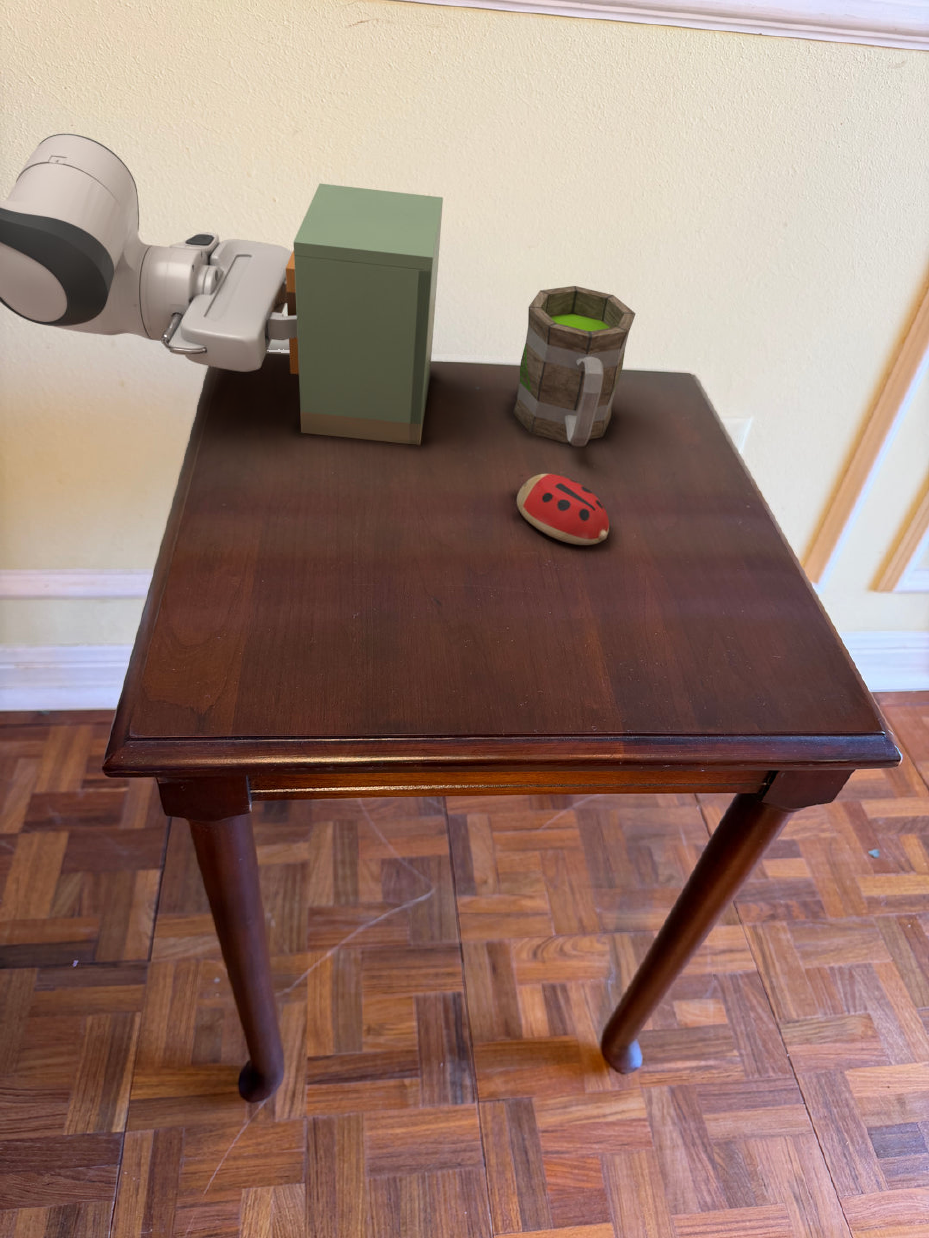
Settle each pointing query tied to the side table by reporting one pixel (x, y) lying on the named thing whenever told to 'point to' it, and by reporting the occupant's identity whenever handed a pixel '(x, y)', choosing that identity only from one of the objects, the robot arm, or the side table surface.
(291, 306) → the granola carton
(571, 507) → the ladybug figurine
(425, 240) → the cubby
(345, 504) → the side table surface
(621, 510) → the side table surface
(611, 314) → the mug
